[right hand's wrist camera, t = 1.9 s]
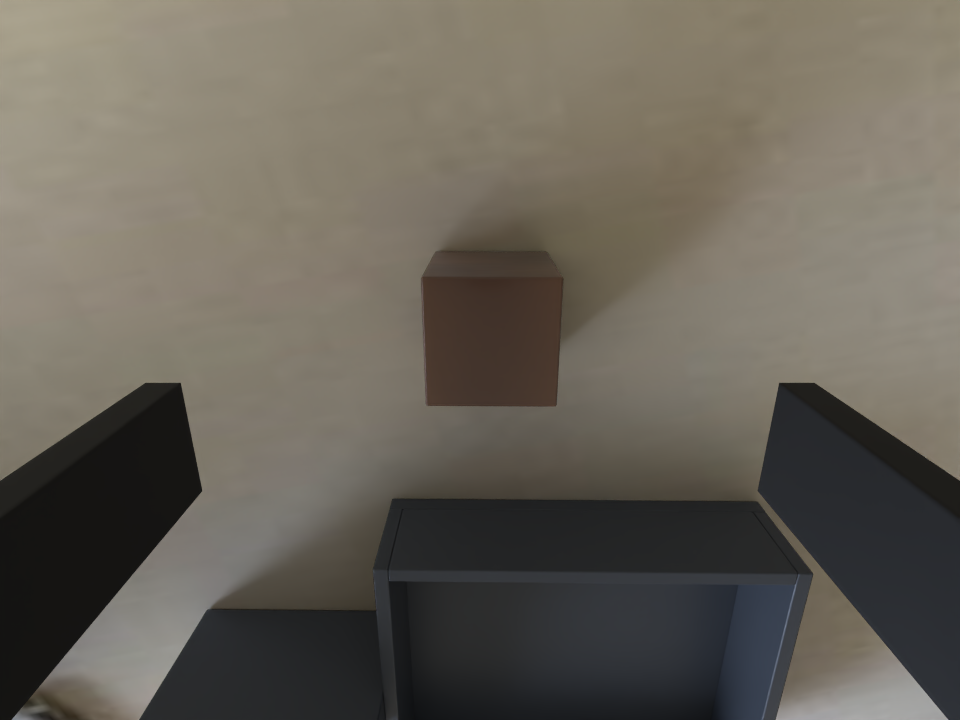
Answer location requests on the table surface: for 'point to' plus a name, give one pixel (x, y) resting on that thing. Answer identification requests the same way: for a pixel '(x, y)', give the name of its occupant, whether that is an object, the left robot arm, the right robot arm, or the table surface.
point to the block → (491, 328)
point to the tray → (523, 622)
